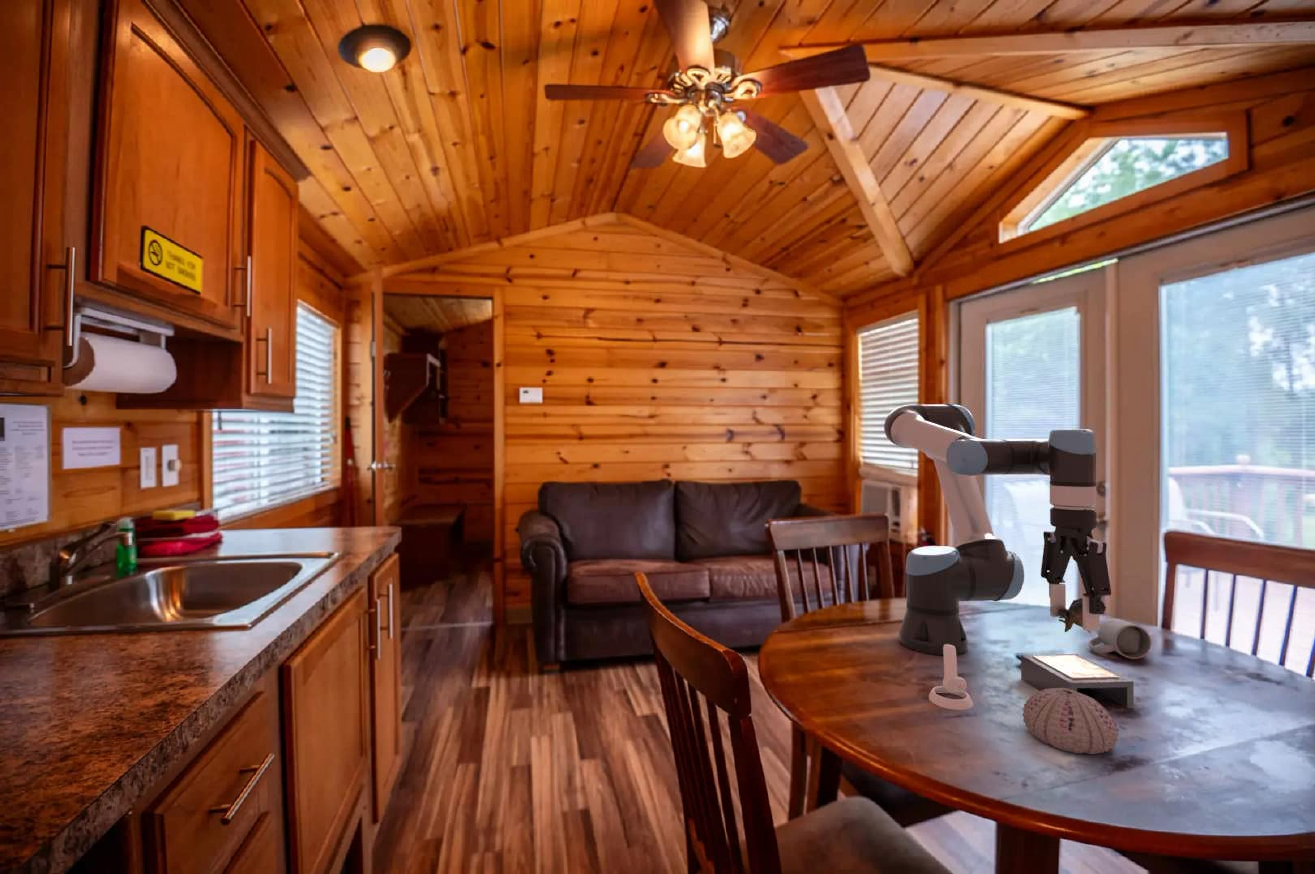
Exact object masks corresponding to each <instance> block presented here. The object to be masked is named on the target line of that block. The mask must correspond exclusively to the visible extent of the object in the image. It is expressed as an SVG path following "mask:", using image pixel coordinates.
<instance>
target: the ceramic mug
mask: <svg viewBox="0 0 1315 874" xmlns="http://www.w3.org/2000/svg"><path fill="white" fill-rule="evenodd" d="M1087 644H1088V647H1089V649H1090V651H1091V652H1093V653H1095V654H1108V653H1111V652H1115V653H1117V654H1118V655H1121V656H1122V657H1124V658H1126V659H1131V660H1138V659H1141V658H1143V657H1145V656H1146V655H1148V653H1149V652H1150V650H1151V646H1152V639H1151V636H1150V633H1149V632H1148V631H1147V630H1146V629H1145V628H1144V627H1142V626H1140V625H1137V624H1135V623H1131V622H1128V621H1126V620H1122V619H1119V618H1108V619H1104V620H1103V621H1101V622H1100V630H1097V637H1094V638H1092V639H1090V640H1089V641H1088V643H1087ZM1099 644H1103V646H1102V645H1101V646H1097V645H1099Z"/></svg>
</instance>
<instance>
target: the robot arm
mask: <svg viewBox="0 0 1315 874" xmlns="http://www.w3.org/2000/svg"><path fill="white" fill-rule="evenodd" d="M976 425H977V424H976V421H975V418H974V416H973V415H972V413H971V411H970V410H969V409H968V408H966V407H964V406H962V405H959V404H951V403H942V404H916V403H915V404H912V403H911V404H904V405H901V406H898V407H896V408H895V409H893V410H891V412H890V413H889V414H888V415H887V416H886V418H885V420H884V424H883V429H884V430H883V431H884V434H885V436H886V438H887V439H888V440H889V442H890V443H892V444H893V445H895V446H898V447H900V448H903V449H915V450H918V451H919V452H922V453H924V454H925V456H926V457H927V458H930V459H931V460H933V463H934V467H935V469H936V470H935V471H936V473H937V477H938V480H939V485H940V487H941V490H942V494H943V498H944V501H945V502H944V503H945V504H946V508H947V512H948V515H949V518H950V523H951V526H952V529H953V532H954V537H955V540H956V544H955V545H954V546H947V545H939V546H938V545H929V546H927V545H926V546H922V547H916V548H914V549H912V550H911V551H909V552H908V553H907V556H906V563H905V569H904V570H905V581H906V583H905V587H906V592H905V593H906V594H905V595H906V599H905V600H906V610H905V613H904V616H903V619H902V622H901V625H900V627H899V631H898V641H899V643H900V642H901V643H902V644H903V645H902V644H901V643H900V644H901V645H902V646H904V645H905V646H907V647H908V648H907V647H906V648H907V649H910V650H912V649H915V650H918V651H917V652H919V651H921V652H920V653H923V652H924V653H923V654H928V653H929V655H935V654H937V655H936V656H943V646H944V645H945V644H949V645H953V646H954V647H955V648H956V656H957V655H961V654H965V653H967V651H968V650H969V649H968V647H969V646H968V645H969V643H968V637H967V634H966V631H965V629H964V626H963V623H962V620H961V617H960V602H989V601H990V602H991V601H992V602H999V601H1006V600H1007V601H1008V600H1012V599H1014V598H1016V597H1017V596H1019V594H1020V593H1021V590H1022V589H1023V585H1024V584H1025V568H1024V564H1023V562H1022V560H1021V558H1020V556H1018V555H1017V554H1016V553H1015V552H1014V551H1010V550H1007V549H1006V545H1005V543H1004V541H1003V540H1002V539H1001V538H999V537H997V536H995V534H994V531H993V528H992V525H991V521H990V519H989V516H988V512H987V509H986V507H985V503H984V500H983V497H982V494H981V490H980V487H979V484H978V480H977V479H976V476H988V475H989V476H993V475H994V476H995V475H996V476H998V475H1004V476H1005V475H1008V476H1009V475H1040V476H1041V475H1043V476H1049V504H1050V505H1051V506H1052V507H1051V508H1050V509H1049V524H1050V525H1051V526H1052V527H1054V531H1050V530H1049V531H1046V530H1045V531H1043V533H1042V535H1043V536H1042V537H1043V543H1044V544H1043V551H1042V557H1041V558H1042V559H1041V560H1042V561H1041V567H1040V577H1041V578H1042V579H1046V582H1047V583H1048V597H1049V608H1050V607H1052V606H1054V605H1059V604H1061V605H1063V606H1064V607H1065V608H1066V606H1067V605H1066V603H1067V602H1066V595H1067V594H1066V584H1064V583H1066V580H1065V579H1064V578H1065V574H1066V572H1067V568H1068V565H1069V562H1070V559H1071V558H1072V560H1073V561H1074V562H1076V566H1077V568H1078V572H1079V575H1080V578H1081V580H1082V581H1081V582H1082V585H1083V588H1084V591H1085V592H1084V593H1082V598H1083V628H1082V630H1083V631H1085V632H1088V631H1090V632H1091V631H1096V632H1097V631H1098V630H1100V624H1101V622H1100V621H1101V619H1100V617H1101V615H1102V614H1101V601H1102V597H1106V596H1111V595H1112V589H1111V582H1110V576H1109V567H1108V563H1107V555H1106V554H1107V548H1108V547H1107V546H1108V545H1107V542H1106V541H1102V540H1101V541H1099V540H1095V539H1094V536H1093V533H1092V530H1093V529H1096V528H1097V523H1098V522H1097V521H1098V517H1097V515H1098V513H1097V510H1096V509H1094V507H1096V506H1097V452H1098V449H1097V445H1096V436H1095V432H1094V431H1093V430H1091V429H1088V428H1085V429H1084V428H1083V429H1082V428H1073V429H1071V428H1069V429H1066V428H1065V429H1060V428H1059V429H1052V430H1050V431H1049V435H1048V436H1049V437H1048V439H1046V438H1045V439H1041V438H1039V439H1038V438H1021V439H1018V438H1017V439H984V438H979V437H976V434H977V432H976V431H975V430H976V428H977V427H976ZM1066 609H1067V608H1066ZM1100 614H1101V615H1100ZM1049 616H1050V617H1052V618H1054V617H1055V618H1056V617H1057V618H1059V617H1061V616H1054V615H1052V613H1051V612H1050V611H1049ZM905 646H904V647H905ZM915 650H914V651H915Z"/></svg>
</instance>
